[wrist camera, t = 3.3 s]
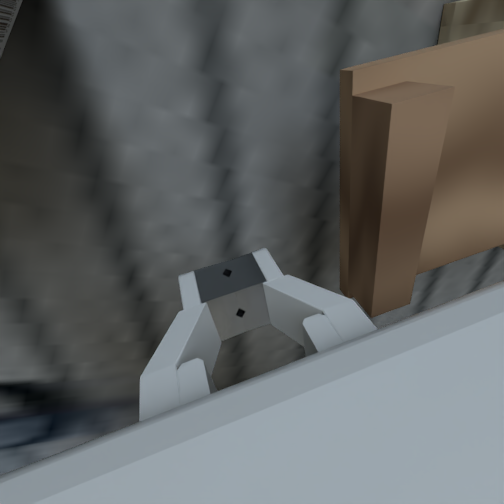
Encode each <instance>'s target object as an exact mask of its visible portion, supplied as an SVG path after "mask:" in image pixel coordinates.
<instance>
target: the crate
mask: <svg viewBox="0 0 504 504" xmlns="http://www.w3.org/2000/svg"><path fill="white" fill-rule="evenodd" d="M500 29H504V0H461V1H456V2H452V3H448V4H444V8H443V14H442V20H441V27H440V33H439V39H438V45H440V44H444V43H448V42H452V41H456V40H460V39H464V38H468V37H472V36H476V35H480V34H484V33H488V32H492V31H496V30H500ZM499 247H500V248H502V249H504V244H502V245H499Z"/></svg>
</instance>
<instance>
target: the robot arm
mask: <svg viewBox="0 0 504 504" xmlns="http://www.w3.org/2000/svg"><path fill="white" fill-rule="evenodd" d="M178 280H179V286H180V292H181V299H182V305H183V310H182V311H179V312H178V314H177V316H176V317H175V319H174V321H173V322H172V324H171V326H170V327H169V329H168V331H167V332H166V334H165V336H164V338H163V339H162V341H161V343H160V344H159V346H158V348H157V349H156V351H155V353H154V355H153V356H152V358H151V360H150V361H149V363H148V365H147V366H146V368H145V370H144V371H143V373H142V375H141V377H140V414H139V422H137V423H134V424H132V425H129V426H127V427H124V428H122V429H119V430H116V431H114V432H111V433H109V434H106V435H103V436H101V437H98V438H96V439H93V440H91V441H88V442H85V443H83V444H80V445H78V446H75V447H73V448H70V449H67V450H65V451H62V452H60V453H57V454H54V455H52V456H49V457H47V458H44V459H42V460H39V461H36V462H34V463H31V464H29V465H26V466H24V467H21V468H18V469H16V470H13V471H11V472H8V473H5V474H3V475H0V504H504V280H503V281H501V282H498V283H496V284H493V285H490V286H488V287H485V288H483V289H480V290H478V291H475V292H472V293H470V294H467V295H465V296H462V297H459V298H457V299H454V300H452V301H449V302H447V303H444V304H441V305H439V306H436V307H434V308H431V309H428V310H426V311H423V312H421V313H418V314H416V315H413V316H410V317H408V318H405V319H403V320H400V321H397V322H395V323H392V324H390V325H387V326H385V327H382V328H379V329H377V328H376V327H375V325H374V324H373V323H372V322H371V321H370V320H369V318H368V317H367V316H366V315H365V314H364V312H363V311H362V310H361V309H360V308H359V306H358V305H357V304H356V303H355V302H354V300H352V299H349V298H347V297H344V296H342V295H339V294H337V293H334V292H332V291H329V290H326V289H324V288H321V287H319V286H316V285H314V284H311V283H308V282H306V281H303V280H301V279H298V278H296V277H293V276H291V275H285V276H284V275H283V274H282V272H281V271H280V269H279V267H278V266H277V264H276V263H275V261H274V260H273V258H272V256H271V255H270V253H269V252H268V250H267V249H266V248H262V249H259V250H256V251H254V252H251V253H249V254H246V255H243V256H240V257H237V258H234V259H231V260H228V261H225V262H221V263H218V264H214V265H211V266H208V267H204V268H201V269H198V270H194V271H191V272H188V273H185V274H182V275H179V278H178ZM270 323H271V325H272V326H274V327H275V328H277V329H278V330H280V331H281V332H283V333H284V334H286V335H287V336H289V337H290V338H292V339H293V340H295V341H296V342H298V343H299V344H301V345H302V346H304V347H305V358H302V359H300V360H297V361H294V362H292V363H289V364H287V365H284V366H281V367H279V368H276V369H274V370H271V371H269V372H266V373H263V374H261V375H258V376H256V377H253V378H251V379H248V380H245V381H243V382H240V383H238V384H235V385H232V386H230V387H227V388H225V389H222V390H220V391H217V389H216V387H215V385H214V382H213V380H212V378H211V375H212V372H213V369H214V366H215V363H216V359H217V356H218V353H219V350H220V346H221V341H223V340H226V339H228V338H231V337H234V336H236V335H239V334H241V333H244V332H246V331H249V330H252V329H255V328H258V327H261V326H264V325H267V324H270Z"/></svg>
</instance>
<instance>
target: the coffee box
mask: <svg viewBox="0 0 504 504" xmlns="http://www.w3.org/2000/svg"><path fill="white" fill-rule="evenodd" d="M21 3H22V0H0V58H1V55H2V53H3V50H4V47H5V45H6V42H7V39H8V37H9V34H10V32H11V29H12V26H13V24H14V21H15V19H16V16H17V14H18V11H19V8H20V6H21Z"/></svg>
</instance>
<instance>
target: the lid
mask: <svg viewBox="0 0 504 504" xmlns="http://www.w3.org/2000/svg"><path fill="white" fill-rule="evenodd" d="M502 244H504V29H500V30H496V31H492V32H488V33H484V34H480V35H476V36H472V37H468V38H464V39H460V40H456V41H452V42H448V43H444V44H440V45H436V46H432V47H428V48H424V49H420V50H416V51H412V52H408V53H404V54H400V55H396V56H392V57H388V58H384V59H380V60H377V61H373V62H369V63H365V64H361V65H357V66H353V67H349V68H345V69H341V70H340V290H341V291H342V293H343V294H344V295H345V297H347V298H349V299H350V298H352V297H354V298H355V299H356V300H357V301H358V303H359V304H360V305H361V306H362V307H363V309H364V310H365V311H366V312H367V314H368V315H369V316H370V317H371V318H372V317H375V316H378V315H381V314H383V313H386V312H389V311H391V310H394V309H397V308H400V307H402V306H405V305H408V304H410V301H411V296H412V291H413V286H414V282H415V277H416V275H417V274H420V273H423V272H426V271H429V270H432V269H434V268H437V267H440V266H443V265H446V264H449V263H451V262H454V261H457V260H460V259H463V258H466V257H468V256H471V255H474V254H477V253H480V252H483V251H485V250H488V249H491V248H494V247H497V246H499V245H502Z"/></svg>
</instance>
